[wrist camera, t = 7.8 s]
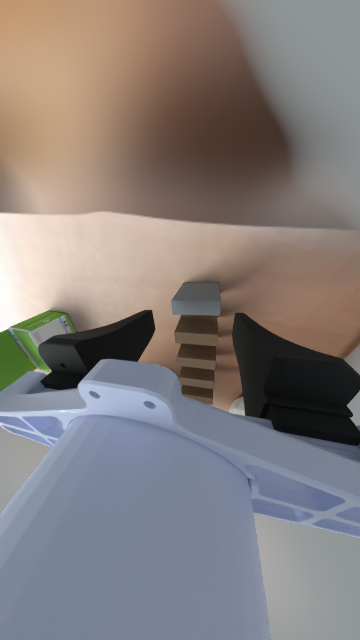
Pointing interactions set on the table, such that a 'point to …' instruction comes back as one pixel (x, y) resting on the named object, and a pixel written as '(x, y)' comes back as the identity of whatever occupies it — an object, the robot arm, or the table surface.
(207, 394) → the domino
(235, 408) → the geometric ball
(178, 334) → the domino
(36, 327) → the ink box
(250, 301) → the table surface
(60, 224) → the table surface
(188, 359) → the domino
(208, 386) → the domino
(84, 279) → the table surface
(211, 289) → the domino
